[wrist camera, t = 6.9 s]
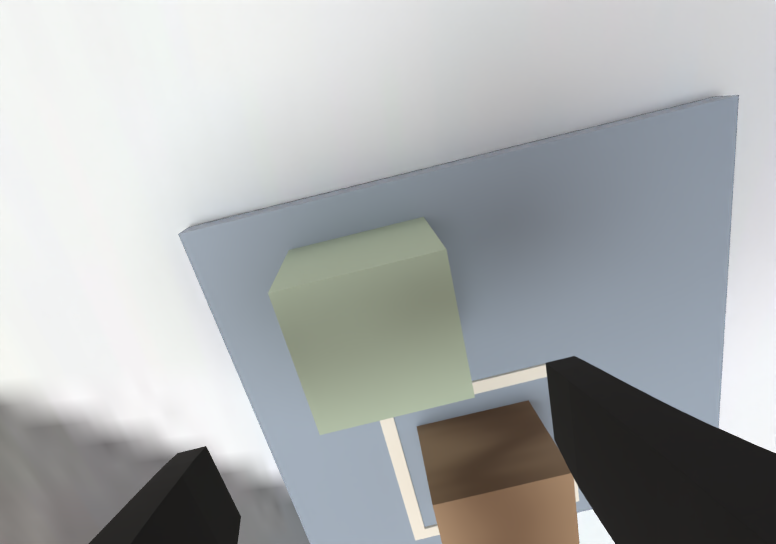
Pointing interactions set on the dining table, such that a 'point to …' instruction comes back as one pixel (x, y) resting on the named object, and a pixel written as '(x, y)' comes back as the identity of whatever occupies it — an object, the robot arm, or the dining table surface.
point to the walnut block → (498, 479)
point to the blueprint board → (499, 295)
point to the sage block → (373, 325)
